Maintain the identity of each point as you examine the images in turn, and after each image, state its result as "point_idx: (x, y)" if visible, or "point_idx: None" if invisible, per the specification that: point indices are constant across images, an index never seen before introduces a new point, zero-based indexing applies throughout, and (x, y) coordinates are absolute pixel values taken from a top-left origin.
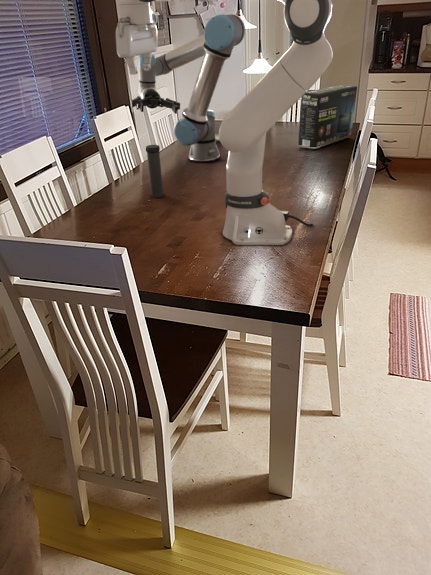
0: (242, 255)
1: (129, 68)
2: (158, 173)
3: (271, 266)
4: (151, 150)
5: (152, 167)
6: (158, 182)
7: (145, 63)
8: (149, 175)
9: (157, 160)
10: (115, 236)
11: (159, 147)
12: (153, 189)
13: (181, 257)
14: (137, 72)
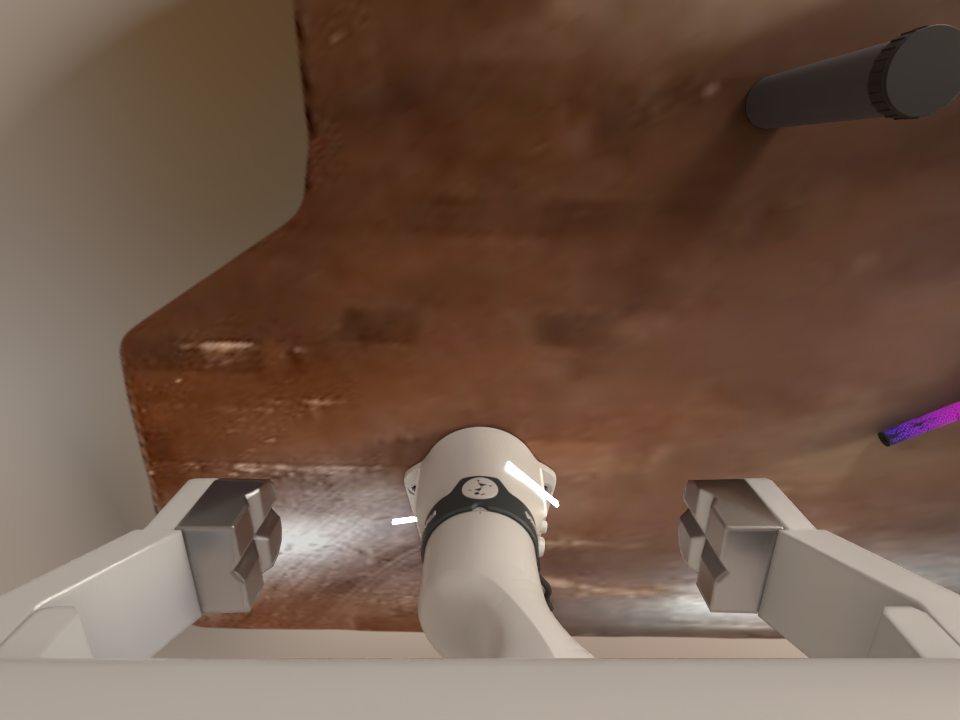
0: (356, 497)
1: (150, 525)
2: (808, 117)
3: (325, 557)
4: (876, 83)
5: (820, 89)
6: (782, 117)
7: (778, 555)
8: (813, 64)
9: (850, 113)
10: (364, 115)
11: (926, 114)
12: (763, 93)
13: (299, 369)
14: (272, 556)
